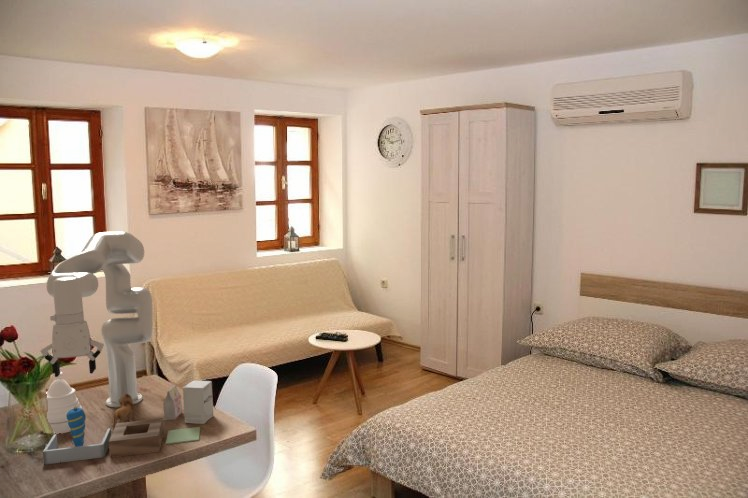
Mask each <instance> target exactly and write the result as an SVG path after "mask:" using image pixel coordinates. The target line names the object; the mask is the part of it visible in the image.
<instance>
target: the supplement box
mask: <svg viewBox="0 0 748 498" xmlns="http://www.w3.org/2000/svg"><path fill="white" fill-rule="evenodd" d="M182 394H183V398H182V399H183V413H184V424H194V425H195V424H196V425H198V424H199V425H205V424H206V423H207V422H208V421H209V420H210V419H211V418H212V417H214V401H213V400H214V399H213V383H212V381H211V380H192V381H190V382H189V383H188V384H186V385H185V386H183V387H182Z"/></svg>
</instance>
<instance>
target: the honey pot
mask: <svg viewBox="0 0 748 498" xmlns="http://www.w3.org/2000/svg"><path fill="white" fill-rule="evenodd" d="M63 374H64V373H63V371H60V374H59V376H58V377H55V378H56V379H54V380H53V381H52V383H50V385H49V387H48V389H47V391H45V392H46V394H47V400H48V412H47V419H48V422H49V423H50V425H51V427H52V429H53V431H54V432H55V433H56V434H57V435H58V434H59V433H61V434H65V433H68V432H70V430H71V429H70V427H69V425H68V419H67V417H66V415H67V413H68V412H69V411H70V410H71V409H74V407H75V405H76V406H77V408H81V409H83V407H82V405H81V403H80V401H79V399H78V397H77V395H76V389H75V388H73V387H71V386H70V384H69V383H68V382H67V381H66V380H65V379H64V378H62V377H63ZM54 376H55V374H54Z"/></svg>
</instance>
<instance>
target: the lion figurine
mask: <svg viewBox="0 0 748 498" xmlns="http://www.w3.org/2000/svg"><path fill="white" fill-rule="evenodd" d="M118 402H119V403H120V405H121V407H118V408H117V409H115V411H114V412H113V422H112V432H113V431H114V428H115V426H116V424H117V423H118V419H119V420H120V423H124V422H126V417H127V416H128V415H129V417H128V420H129V422H133V421H134V418H133V409H134V405H133V401H132V398H131V396H130V395H129V394H126V393H125V394H122V396H121V398H120V399H119V400H118Z"/></svg>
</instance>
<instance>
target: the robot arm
mask: <svg viewBox="0 0 748 498" xmlns="http://www.w3.org/2000/svg"><path fill="white" fill-rule="evenodd" d="M144 257H145V248H144V245H143V242H141V240H140V239H138V237H136V236H134V234H131V233H129V232H128V231H103V232H97V233H94V234H92V236H90V238H89V239H88V241H87V243H86V244H85V246H84V247H83V248H82V250H81V252H80V253H77V254H75V255H73V256H71V257H69V258H66V259H65V260H63V261H61V262H60V263H58V264H57V265H56V266H54V268H53V269H52V270H51V273H50V274H49V275H48V278H47V282H46V290H47V291H46V292H47V293H48V295H49V296H51V297H53V301H54V302H53V303H54V313H55V314H54V315H51V316H50V318H49V319H50V321H53V322H55V323H54V324H53V325H52V337H51V340H52V341H51V342H52V343H50V344H48V345H47V346H45V347H43V348H42V349H41V350H40V353H41V355H42V356H43V358H44V359H45V360H47V361H48V363H50V364H51V368H52V374H55V375H54V378H56V377H58V376H59V374H60V372H61V369H60V368H61V367H60V362H59V361H58V360H59V359H66V358H67V359H68V358H79V357H85V356H86V357H87V358H88V359H89V361H88V368H89V374H91V375H92V374H93V373H94V372H95V370H96V369H97V364H96V358H97V357H99V355H100V354H101V353H102V351H103V349H104V348H105V354H106V364H107V365H106V367H107V377H108V386H109V388H108V389H109V397H108V398H107V399H105V400H106V401H105V404H106V406H107V407H110V408H121V405H120V403H119V402H118V400H119V399H120V398H121V396H122V394H125V393H126V394H129V395H130V396H131V398H132V401H133V406H134V405H136V404H139V403H140V402H141V401H142V400H143V395H142V394H141V393H139V392H138V384H137V383H138V382H137V369H136V357H135V352H134V350H133V348H132V347H131V346H130V345H129V344H145V343H148V342H150V341H151V340H152V337H153V331H154V330H153V329H154V326H153V324H154V323H153V321H154V320H153V316H154V315H153V298H152V297H153V296H152V293H151V291H150V290H149V289H148V288H145V287H132V285H131V274H130V272H129V270H128V268H126V266H125V264H128V265H129V264H138V263H140V262H142V260H143V259H144ZM101 271H102V272H103V273H104V276H105V306H106V310H107V312H108V313H110V314H113V315H128V314H130V315H132V314H133V315H134V314H135V315H137V316H135V317H131V316H130V317H114V318H110V319H107V320H105V322H103V323H102V325H101V329H100V330H101V336H102V340H103V342H99V341H96V340H94V339H92V338H91V334H90V329H89V325H88V322H87V320H85V317H84V316H85V315H84V306H83V304H84V303H83V298H86V297H87V298H88V297H90V296H92V295H94V294H96V292H97V290H98V288H99V280H98V277H97V276H96V275H95V274H96V273H99V272H101ZM92 346H93V347H96V348H97V349H96V350H95V352H93V350H92V348H93V347H92ZM50 350H52V355H51V353H49V351H50ZM46 355H47V356H46Z"/></svg>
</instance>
